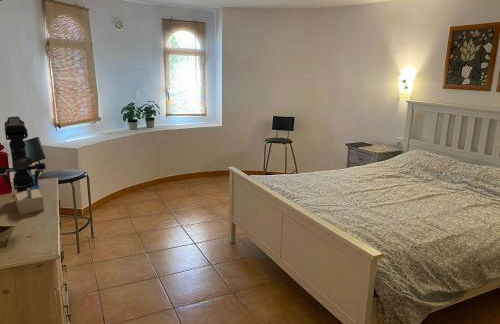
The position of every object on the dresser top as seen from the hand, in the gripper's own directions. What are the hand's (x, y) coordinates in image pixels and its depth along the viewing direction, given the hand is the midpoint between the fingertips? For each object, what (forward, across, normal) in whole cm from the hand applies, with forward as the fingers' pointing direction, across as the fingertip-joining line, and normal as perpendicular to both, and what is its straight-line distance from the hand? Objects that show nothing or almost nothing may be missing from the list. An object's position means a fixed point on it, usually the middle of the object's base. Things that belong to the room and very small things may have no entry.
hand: (23, 188), depth 165 cm
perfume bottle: (+3, +3, +53) cm, 53 cm away
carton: (+11, +1, +21) cm, 24 cm away
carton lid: (+4, +1, +19) cm, 20 cm away
